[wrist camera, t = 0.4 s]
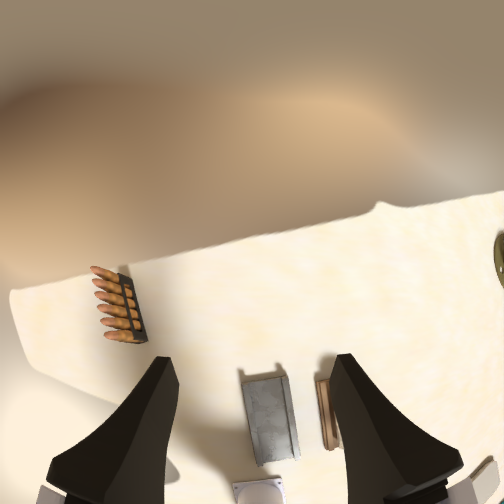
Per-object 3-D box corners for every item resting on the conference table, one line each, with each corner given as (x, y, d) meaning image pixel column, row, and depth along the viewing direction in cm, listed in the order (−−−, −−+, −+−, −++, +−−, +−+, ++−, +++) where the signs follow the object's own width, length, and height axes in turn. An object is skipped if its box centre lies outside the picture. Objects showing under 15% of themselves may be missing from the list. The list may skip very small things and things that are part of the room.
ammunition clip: (122, 281, 42) (84, 263, 31) (131, 278, 42) (95, 258, 31) (138, 343, 39) (100, 344, 28) (148, 341, 39) (112, 340, 28)
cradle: (299, 453, 34) (301, 459, 31) (256, 461, 33) (256, 466, 31) (287, 375, 38) (289, 377, 36) (241, 382, 38) (241, 385, 35)
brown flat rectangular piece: (365, 435, 34) (369, 438, 32) (325, 448, 34) (327, 451, 32) (358, 371, 38) (362, 372, 36) (315, 382, 37) (318, 383, 36)
